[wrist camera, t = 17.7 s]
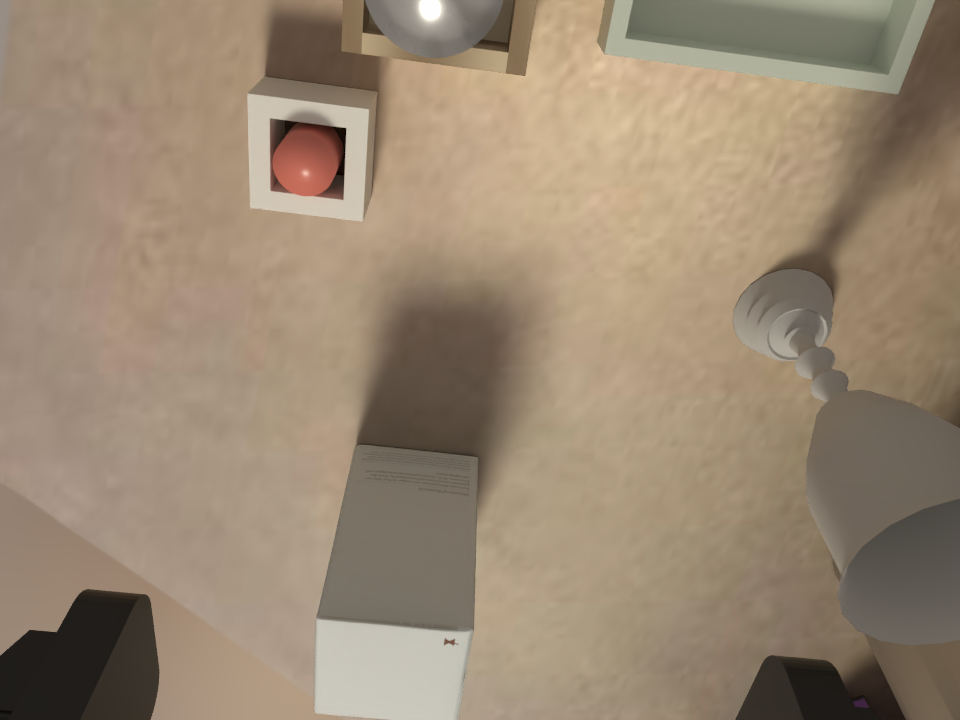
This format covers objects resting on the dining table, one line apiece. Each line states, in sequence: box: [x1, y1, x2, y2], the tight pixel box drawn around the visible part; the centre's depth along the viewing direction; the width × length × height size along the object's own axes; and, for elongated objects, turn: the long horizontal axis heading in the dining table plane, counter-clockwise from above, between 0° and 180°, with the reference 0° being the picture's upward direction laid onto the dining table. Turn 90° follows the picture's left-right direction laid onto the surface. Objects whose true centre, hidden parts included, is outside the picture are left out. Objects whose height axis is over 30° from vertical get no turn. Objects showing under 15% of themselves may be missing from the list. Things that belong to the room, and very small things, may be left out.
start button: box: [273, 122, 343, 196], centre depth 35 cm, size 3×3×2 cm
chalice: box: [733, 269, 960, 645], centre depth 34 cm, size 7×7×18 cm
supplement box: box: [314, 445, 479, 720], centre depth 43 cm, size 7×7×13 cm
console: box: [247, 77, 377, 222], centre depth 36 cm, size 5×5×3 cm
